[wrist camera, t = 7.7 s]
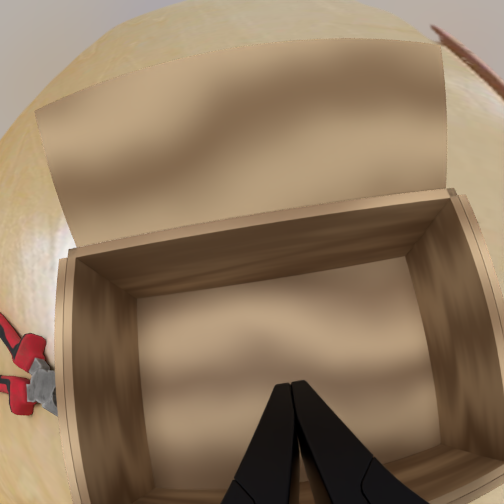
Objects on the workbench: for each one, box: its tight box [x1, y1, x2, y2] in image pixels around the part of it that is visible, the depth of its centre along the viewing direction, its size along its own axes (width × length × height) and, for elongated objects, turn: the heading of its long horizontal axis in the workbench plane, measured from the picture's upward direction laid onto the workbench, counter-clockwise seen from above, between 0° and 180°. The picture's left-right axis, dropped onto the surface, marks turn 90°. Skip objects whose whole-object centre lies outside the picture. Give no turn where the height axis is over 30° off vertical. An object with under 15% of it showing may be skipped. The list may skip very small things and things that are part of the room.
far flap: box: [35, 38, 447, 247], centre depth 14 cm, size 8×21×1 cm
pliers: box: [0, 313, 58, 416], centre depth 21 cm, size 3×9×22 cm
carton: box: [54, 188, 504, 504], centre depth 16 cm, size 17×23×9 cm
